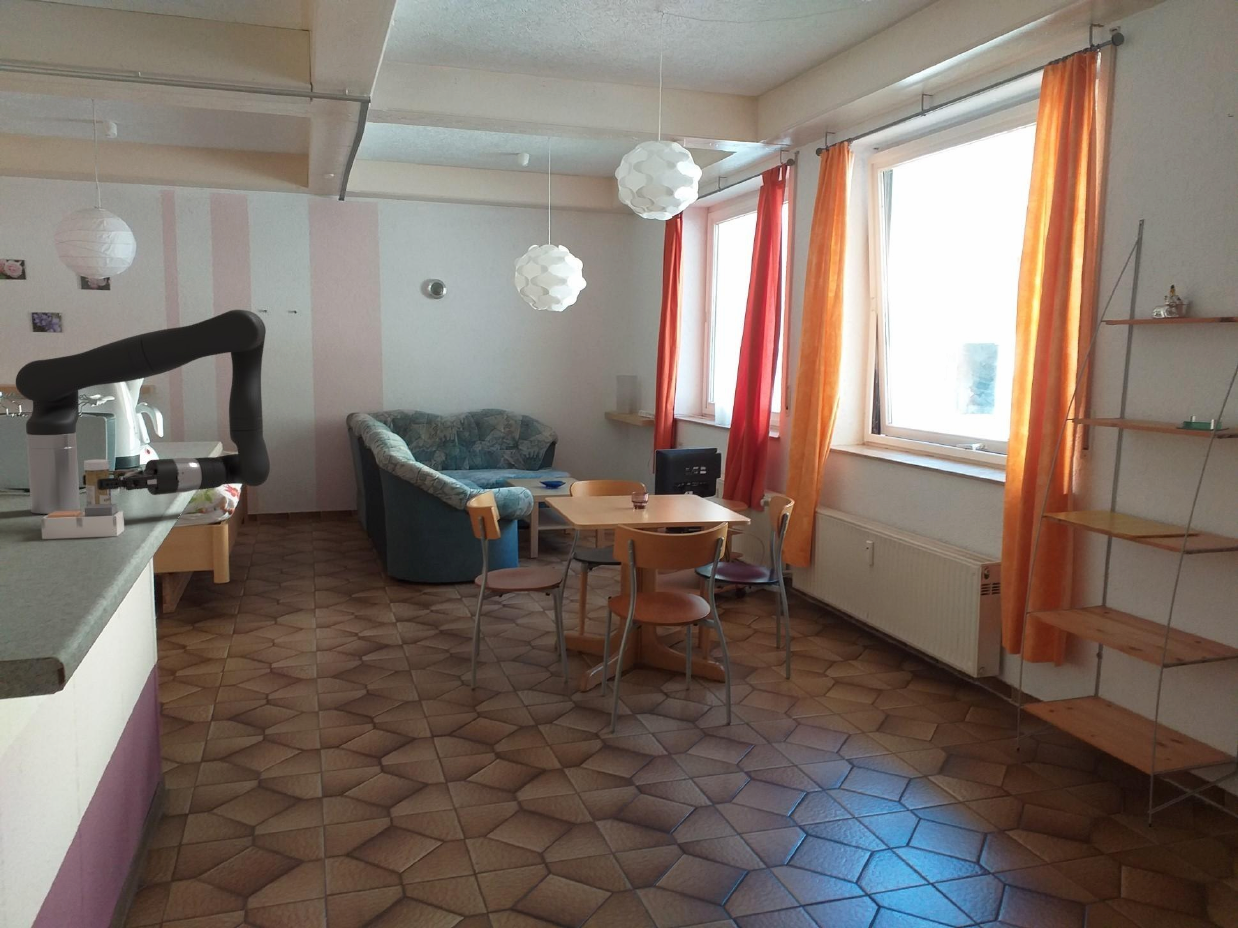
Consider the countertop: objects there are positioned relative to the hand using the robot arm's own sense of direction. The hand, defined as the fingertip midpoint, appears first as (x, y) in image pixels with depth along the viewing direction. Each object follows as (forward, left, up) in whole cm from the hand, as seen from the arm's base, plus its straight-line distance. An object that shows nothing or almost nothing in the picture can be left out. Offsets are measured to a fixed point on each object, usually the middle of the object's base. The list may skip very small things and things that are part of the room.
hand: (90, 482), depth 183 cm
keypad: (+9, +1, -9) cm, 13 cm away
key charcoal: (+9, +4, -5) cm, 11 cm away
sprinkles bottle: (-1, +1, -9) cm, 9 cm away
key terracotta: (+9, -3, -7) cm, 11 cm away
